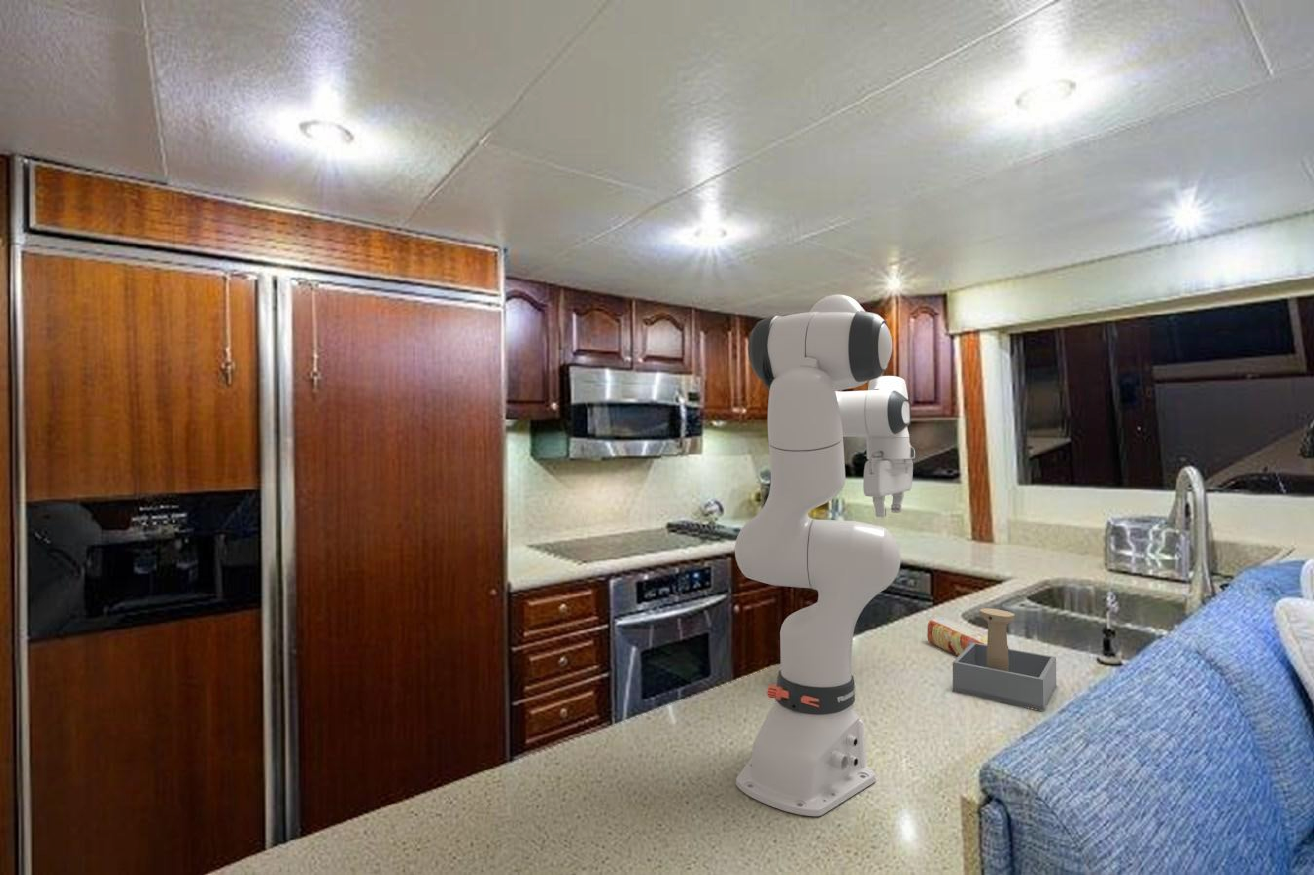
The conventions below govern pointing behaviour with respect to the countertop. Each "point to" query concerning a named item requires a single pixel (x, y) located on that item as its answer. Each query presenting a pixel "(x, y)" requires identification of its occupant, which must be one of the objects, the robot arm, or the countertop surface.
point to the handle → (997, 637)
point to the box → (1006, 677)
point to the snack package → (952, 635)
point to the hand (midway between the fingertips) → (888, 514)
